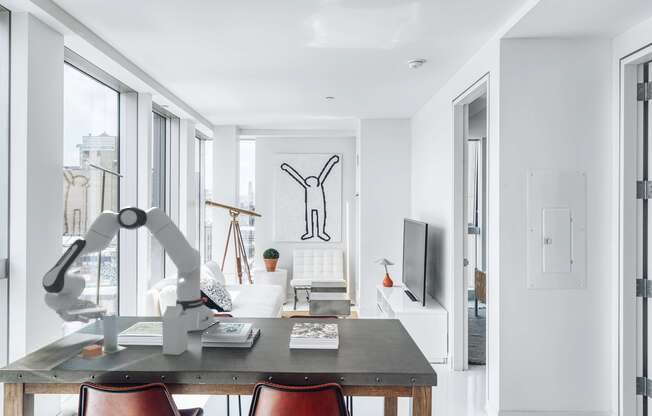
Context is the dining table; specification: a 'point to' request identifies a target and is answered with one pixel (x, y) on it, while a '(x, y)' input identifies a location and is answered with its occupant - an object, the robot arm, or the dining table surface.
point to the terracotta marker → (92, 350)
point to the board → (104, 352)
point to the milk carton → (174, 330)
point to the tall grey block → (110, 331)
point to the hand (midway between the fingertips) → (96, 320)
